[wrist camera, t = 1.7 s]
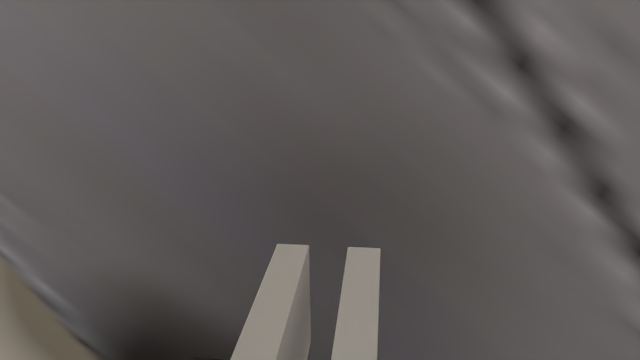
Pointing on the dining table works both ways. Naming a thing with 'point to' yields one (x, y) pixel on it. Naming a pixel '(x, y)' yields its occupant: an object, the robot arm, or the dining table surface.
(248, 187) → the dining table surface
